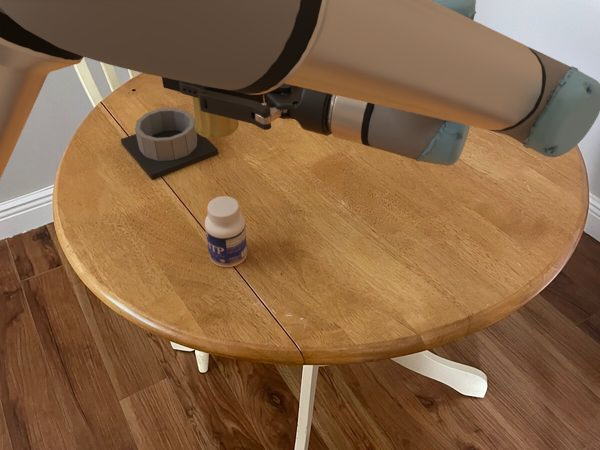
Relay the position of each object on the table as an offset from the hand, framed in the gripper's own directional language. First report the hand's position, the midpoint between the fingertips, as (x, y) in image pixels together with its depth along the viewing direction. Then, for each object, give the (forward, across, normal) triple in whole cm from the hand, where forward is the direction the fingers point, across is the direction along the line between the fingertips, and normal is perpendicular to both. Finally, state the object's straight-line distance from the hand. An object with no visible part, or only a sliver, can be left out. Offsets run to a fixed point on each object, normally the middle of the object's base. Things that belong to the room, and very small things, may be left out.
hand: (177, 66), depth 78 cm
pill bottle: (-12, -11, -20) cm, 26 cm away
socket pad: (+9, +6, -20) cm, 23 cm away
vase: (-5, 0, -8) cm, 10 cm away
